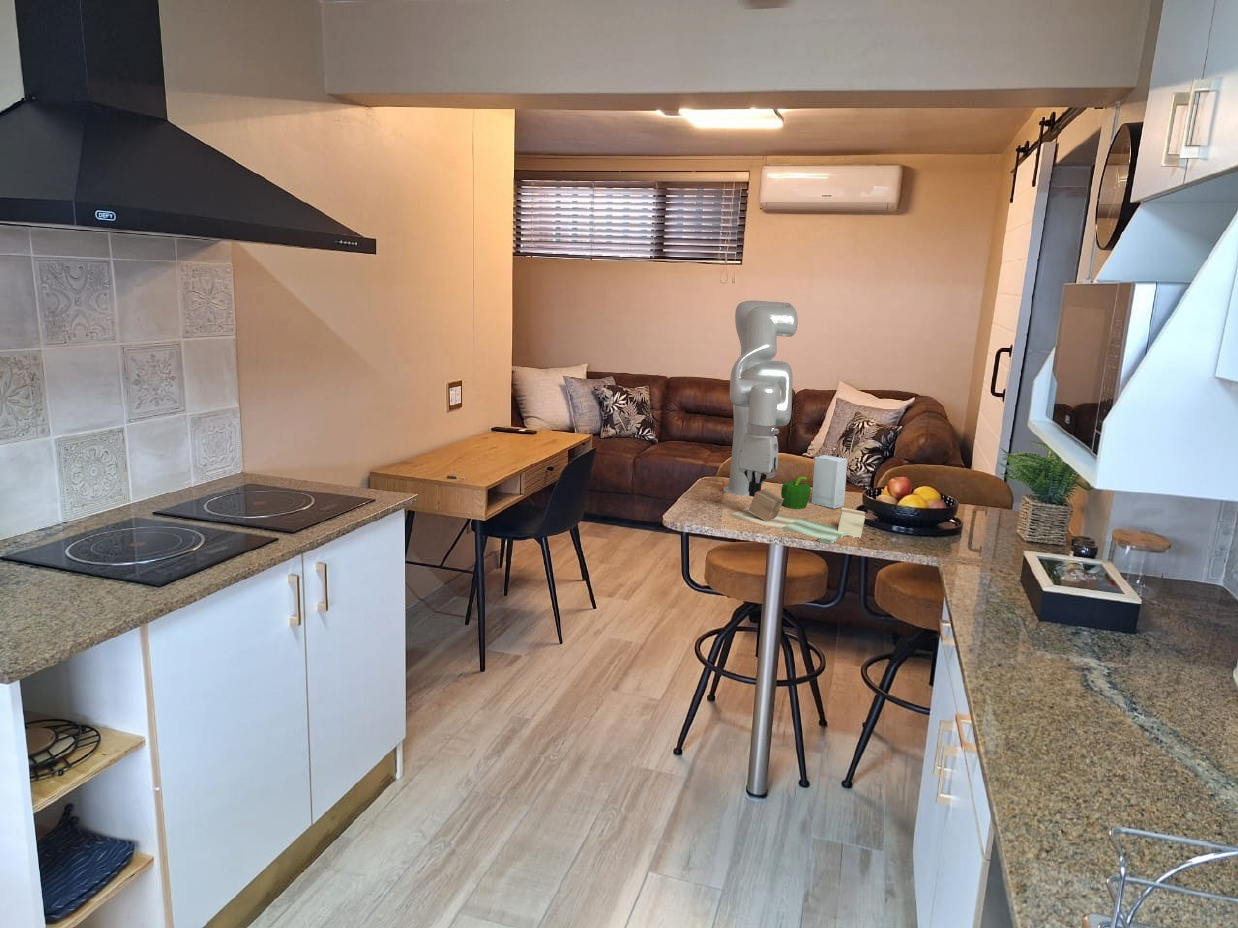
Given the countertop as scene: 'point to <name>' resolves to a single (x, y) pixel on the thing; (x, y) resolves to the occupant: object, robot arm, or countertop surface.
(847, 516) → the beech block
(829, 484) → the skincare box
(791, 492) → the bell pepper
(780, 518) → the board
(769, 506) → the walnut block
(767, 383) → the robot arm
